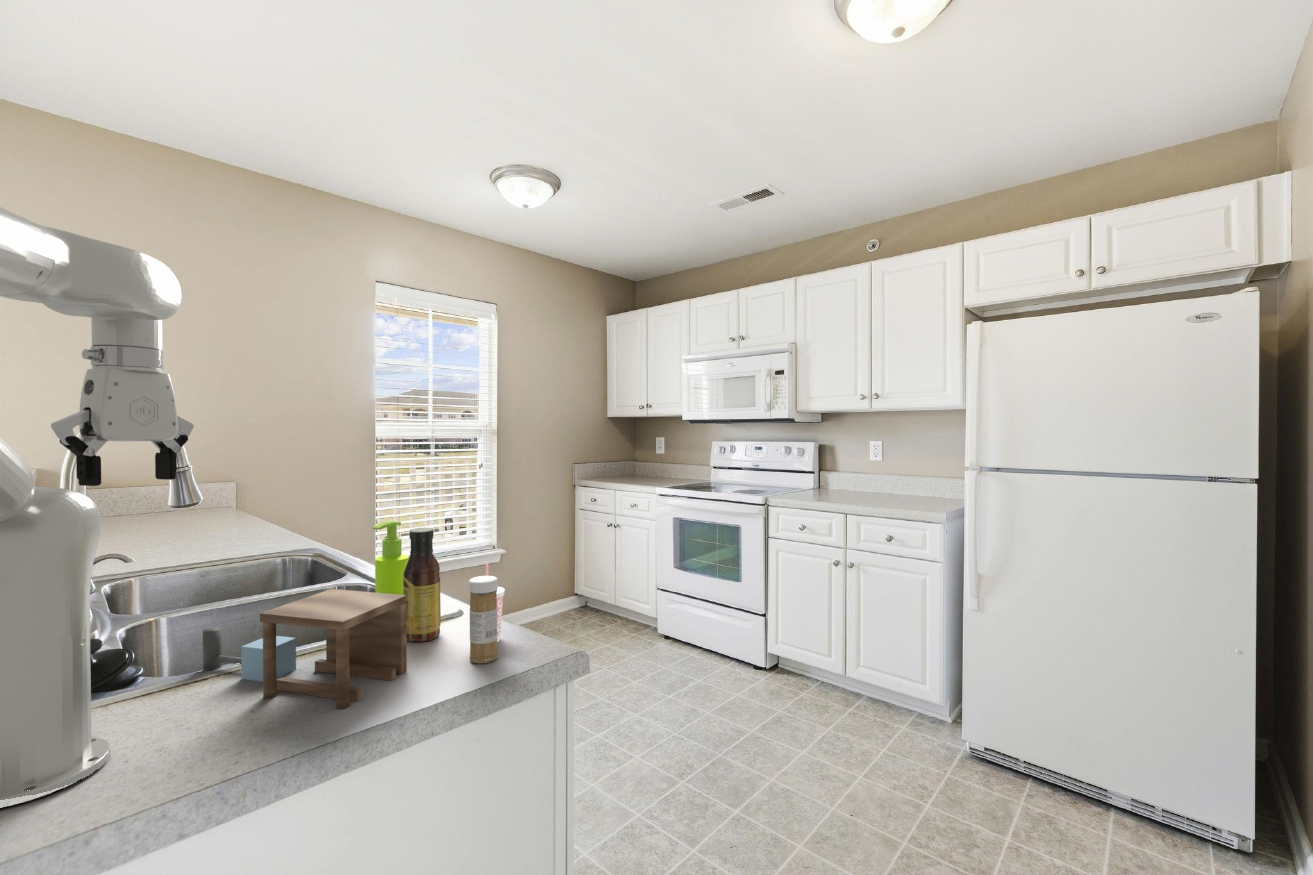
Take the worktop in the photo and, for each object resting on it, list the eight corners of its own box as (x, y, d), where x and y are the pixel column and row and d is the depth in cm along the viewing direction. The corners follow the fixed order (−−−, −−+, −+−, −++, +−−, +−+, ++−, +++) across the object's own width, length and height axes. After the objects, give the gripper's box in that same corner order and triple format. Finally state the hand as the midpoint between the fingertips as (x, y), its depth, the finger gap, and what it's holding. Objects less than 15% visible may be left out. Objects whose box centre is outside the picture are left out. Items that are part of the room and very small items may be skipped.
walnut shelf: (343, 709, 80) (342, 621, 80) (260, 697, 83) (259, 613, 83) (406, 671, 93) (406, 595, 92) (332, 662, 96) (331, 588, 96)
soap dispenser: (363, 629, 112) (363, 523, 111) (392, 618, 118) (392, 518, 118) (387, 633, 109) (387, 526, 109) (415, 622, 116) (415, 520, 116)
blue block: (268, 682, 88) (268, 642, 88) (190, 672, 92) (190, 634, 92) (296, 669, 93) (295, 631, 93) (221, 660, 97) (220, 623, 97)
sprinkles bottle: (490, 651, 101) (490, 573, 101) (502, 660, 97) (502, 578, 97) (464, 658, 98) (464, 577, 98) (475, 667, 94) (475, 583, 94)
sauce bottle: (409, 632, 110) (409, 526, 110) (444, 631, 111) (444, 525, 111) (398, 645, 104) (398, 532, 103) (435, 643, 104) (435, 531, 104)
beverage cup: (489, 648, 102) (489, 568, 102) (461, 643, 105) (461, 564, 104) (511, 637, 108) (511, 560, 108) (484, 632, 110) (484, 557, 110)
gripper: (74, 353, 75) (76, 489, 75) (208, 367, 91) (209, 477, 92) (32, 355, 76) (34, 487, 77) (171, 368, 93) (172, 476, 94)
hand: (129, 482), depth 84 cm, fingers open, 9 cm apart
